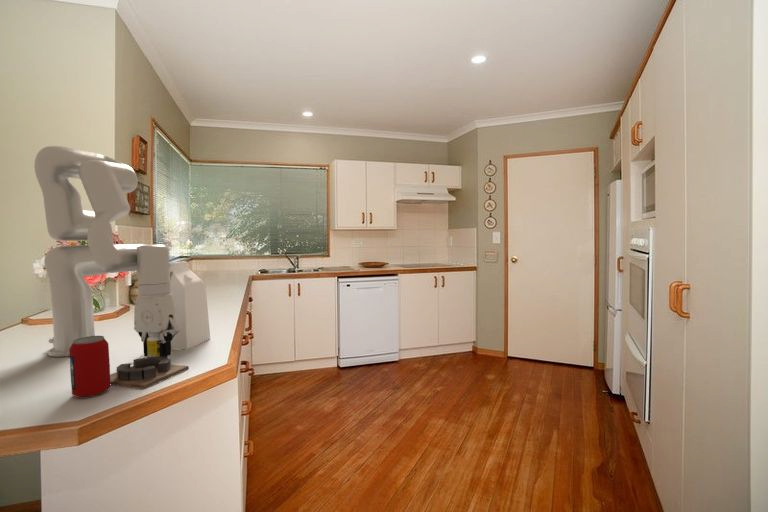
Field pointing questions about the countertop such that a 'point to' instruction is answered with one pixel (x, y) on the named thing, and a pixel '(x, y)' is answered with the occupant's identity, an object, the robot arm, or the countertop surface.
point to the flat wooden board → (145, 372)
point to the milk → (188, 306)
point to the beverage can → (89, 366)
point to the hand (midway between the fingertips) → (157, 354)
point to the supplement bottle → (153, 345)
